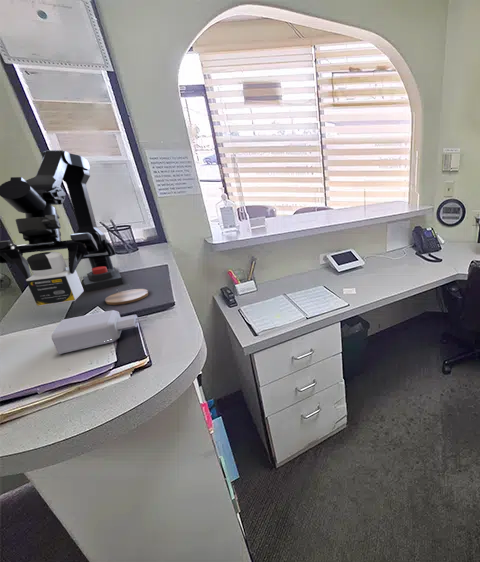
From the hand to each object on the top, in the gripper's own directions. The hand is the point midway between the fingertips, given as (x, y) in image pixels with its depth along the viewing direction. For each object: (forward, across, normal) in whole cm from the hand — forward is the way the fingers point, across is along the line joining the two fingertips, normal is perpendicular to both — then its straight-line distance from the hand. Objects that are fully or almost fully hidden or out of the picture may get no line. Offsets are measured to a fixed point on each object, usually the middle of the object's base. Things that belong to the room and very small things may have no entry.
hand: (50, 276), depth 75 cm
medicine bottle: (+4, 0, +6) cm, 7 cm away
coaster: (+4, +12, +11) cm, 17 cm away
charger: (+22, +10, -6) cm, 25 cm away
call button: (-12, +6, +23) cm, 26 cm away
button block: (-9, +6, +25) cm, 27 cm away
